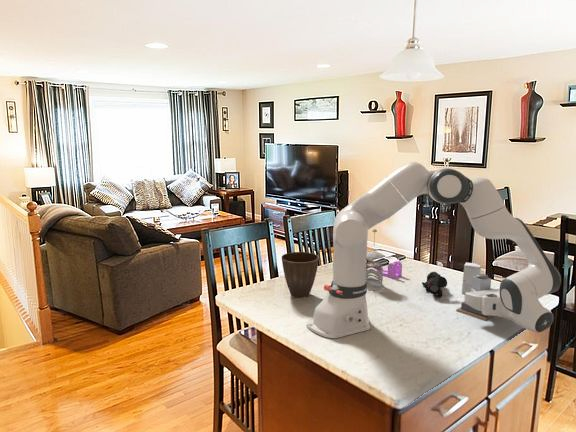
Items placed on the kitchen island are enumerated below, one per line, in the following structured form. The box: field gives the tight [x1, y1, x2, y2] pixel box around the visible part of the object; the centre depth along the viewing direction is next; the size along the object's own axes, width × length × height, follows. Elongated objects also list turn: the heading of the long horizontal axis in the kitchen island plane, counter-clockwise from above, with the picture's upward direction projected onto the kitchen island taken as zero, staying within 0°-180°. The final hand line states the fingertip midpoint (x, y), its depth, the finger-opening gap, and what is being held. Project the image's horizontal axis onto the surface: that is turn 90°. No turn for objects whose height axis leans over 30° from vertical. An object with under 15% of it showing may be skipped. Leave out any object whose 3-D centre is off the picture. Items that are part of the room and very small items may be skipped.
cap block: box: [472, 273, 492, 291], centre depth 159 cm, size 4×4×12 cm
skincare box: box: [461, 262, 482, 295], centre depth 178 cm, size 6×4×12 cm
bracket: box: [373, 260, 403, 280], centre depth 203 cm, size 13×6×7 cm, turn 40°
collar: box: [455, 300, 494, 321], centre depth 160 cm, size 12×11×3 cm
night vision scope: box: [421, 271, 448, 298], centre depth 180 cm, size 8×18×10 cm
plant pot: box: [281, 251, 320, 299], centre depth 177 cm, size 15×15×16 cm
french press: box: [366, 228, 386, 291], centre depth 185 cm, size 10×12×25 cm
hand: (478, 289), depth 160 cm, fingers closed on cap block, 4 cm apart
